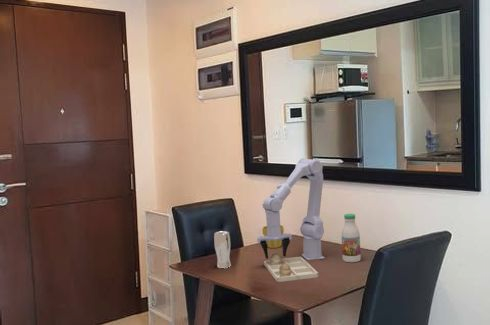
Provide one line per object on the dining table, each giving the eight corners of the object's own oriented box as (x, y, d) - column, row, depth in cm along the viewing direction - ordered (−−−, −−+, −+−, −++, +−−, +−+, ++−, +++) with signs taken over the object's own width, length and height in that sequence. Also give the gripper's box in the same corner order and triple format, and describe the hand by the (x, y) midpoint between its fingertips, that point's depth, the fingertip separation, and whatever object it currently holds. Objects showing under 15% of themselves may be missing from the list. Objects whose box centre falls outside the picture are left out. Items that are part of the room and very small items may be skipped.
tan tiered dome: (278, 276, 206) (277, 262, 205) (289, 275, 206) (288, 261, 206) (281, 279, 201) (280, 265, 201) (292, 278, 202) (291, 264, 201)
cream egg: (269, 265, 221) (269, 252, 221) (279, 264, 222) (279, 251, 221) (272, 268, 217) (271, 255, 216) (282, 267, 218) (281, 254, 217)
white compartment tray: (264, 265, 223) (263, 260, 223) (301, 261, 226) (301, 256, 226) (277, 283, 199) (277, 278, 199) (318, 278, 202) (318, 273, 201)
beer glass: (234, 264, 228) (231, 231, 227) (228, 269, 221) (226, 234, 220) (219, 263, 230) (217, 230, 229) (213, 268, 224) (211, 234, 222)
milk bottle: (340, 258, 226) (338, 213, 225) (357, 257, 227) (355, 212, 225) (345, 263, 219) (343, 217, 217) (363, 261, 219) (361, 215, 218)
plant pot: (261, 245, 258) (259, 226, 257) (280, 242, 260) (279, 223, 259) (266, 250, 248) (265, 230, 247) (287, 247, 250) (286, 227, 249)
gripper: (258, 229, 213) (260, 261, 214) (292, 225, 215) (294, 257, 216) (255, 225, 220) (257, 257, 221) (288, 222, 222) (290, 253, 223)
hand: (275, 257), depth 219 cm, fingers open, 7 cm apart
